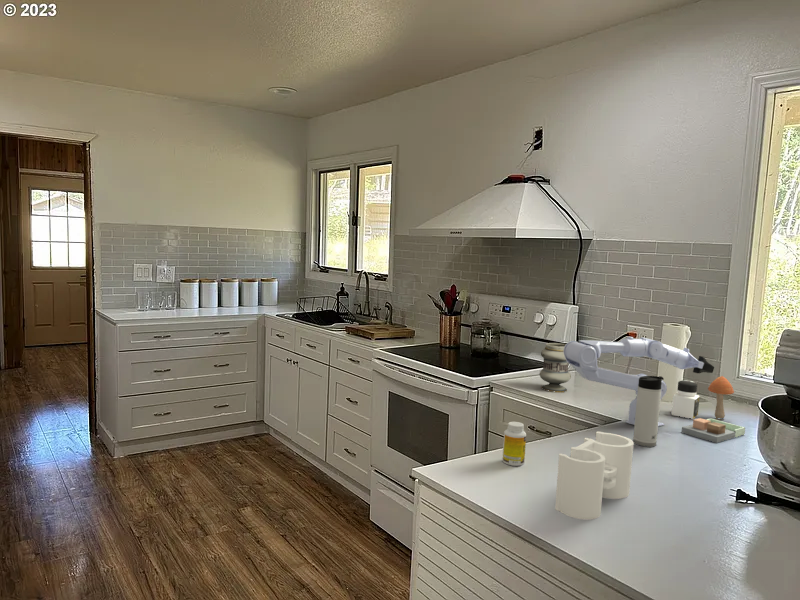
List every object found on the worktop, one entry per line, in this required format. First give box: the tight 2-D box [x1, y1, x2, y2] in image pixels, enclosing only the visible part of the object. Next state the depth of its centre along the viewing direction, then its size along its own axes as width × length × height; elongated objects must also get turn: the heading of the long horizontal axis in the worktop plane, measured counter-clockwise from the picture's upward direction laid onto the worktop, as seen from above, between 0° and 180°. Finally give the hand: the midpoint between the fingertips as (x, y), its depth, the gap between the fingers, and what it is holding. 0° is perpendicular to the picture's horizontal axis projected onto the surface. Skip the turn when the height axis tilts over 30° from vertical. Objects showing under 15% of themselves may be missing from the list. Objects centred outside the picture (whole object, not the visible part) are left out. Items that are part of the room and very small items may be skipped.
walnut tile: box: [707, 422, 726, 434], centre depth 186 cm, size 4×4×2 cm
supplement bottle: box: [501, 421, 527, 467], centre depth 155 cm, size 6×6×10 cm
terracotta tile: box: [692, 417, 711, 430], centre depth 189 cm, size 4×4×2 cm
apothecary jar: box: [539, 342, 572, 393], centre depth 239 cm, size 12×12×18 cm
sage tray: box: [705, 418, 746, 438], centre depth 193 cm, size 6×11×2 cm, turn 35°
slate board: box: [681, 423, 736, 444], centre depth 188 cm, size 11×11×2 cm
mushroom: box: [707, 375, 735, 419], centre depth 207 cm, size 8×8×15 cm
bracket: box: [554, 431, 635, 521], centre depth 134 cm, size 25×10×12 cm, turn 140°
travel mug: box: [632, 375, 664, 448], centre depth 176 cm, size 6×7×20 cm
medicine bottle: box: [671, 379, 701, 420], centre depth 210 cm, size 7×7×12 cm
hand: (703, 367), depth 201 cm, fingers open, 7 cm apart
